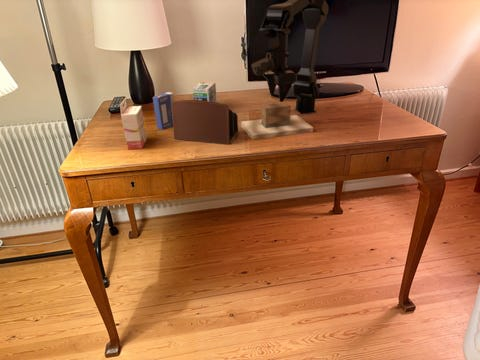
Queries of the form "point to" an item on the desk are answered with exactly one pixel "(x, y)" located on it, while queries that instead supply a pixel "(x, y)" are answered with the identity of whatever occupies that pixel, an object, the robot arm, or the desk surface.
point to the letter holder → (204, 122)
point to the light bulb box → (205, 92)
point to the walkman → (163, 110)
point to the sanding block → (275, 114)
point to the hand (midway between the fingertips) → (276, 98)
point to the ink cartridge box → (133, 125)
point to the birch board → (276, 128)
